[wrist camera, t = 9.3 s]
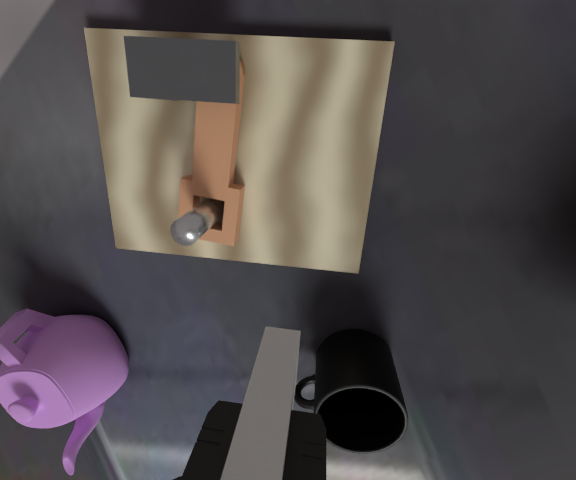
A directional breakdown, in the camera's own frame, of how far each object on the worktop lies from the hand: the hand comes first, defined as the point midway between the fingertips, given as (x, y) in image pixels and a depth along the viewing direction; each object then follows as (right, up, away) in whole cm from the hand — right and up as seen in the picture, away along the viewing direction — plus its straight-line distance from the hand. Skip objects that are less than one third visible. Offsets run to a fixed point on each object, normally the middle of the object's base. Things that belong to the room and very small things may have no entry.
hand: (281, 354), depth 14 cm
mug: (+7, -10, +27) cm, 30 cm away
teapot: (-28, -11, +32) cm, 43 cm away
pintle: (-8, +8, +20) cm, 23 cm away
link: (-7, +14, +18) cm, 24 cm away
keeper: (-8, +20, +16) cm, 27 cm away
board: (-5, +13, +20) cm, 24 cm away
